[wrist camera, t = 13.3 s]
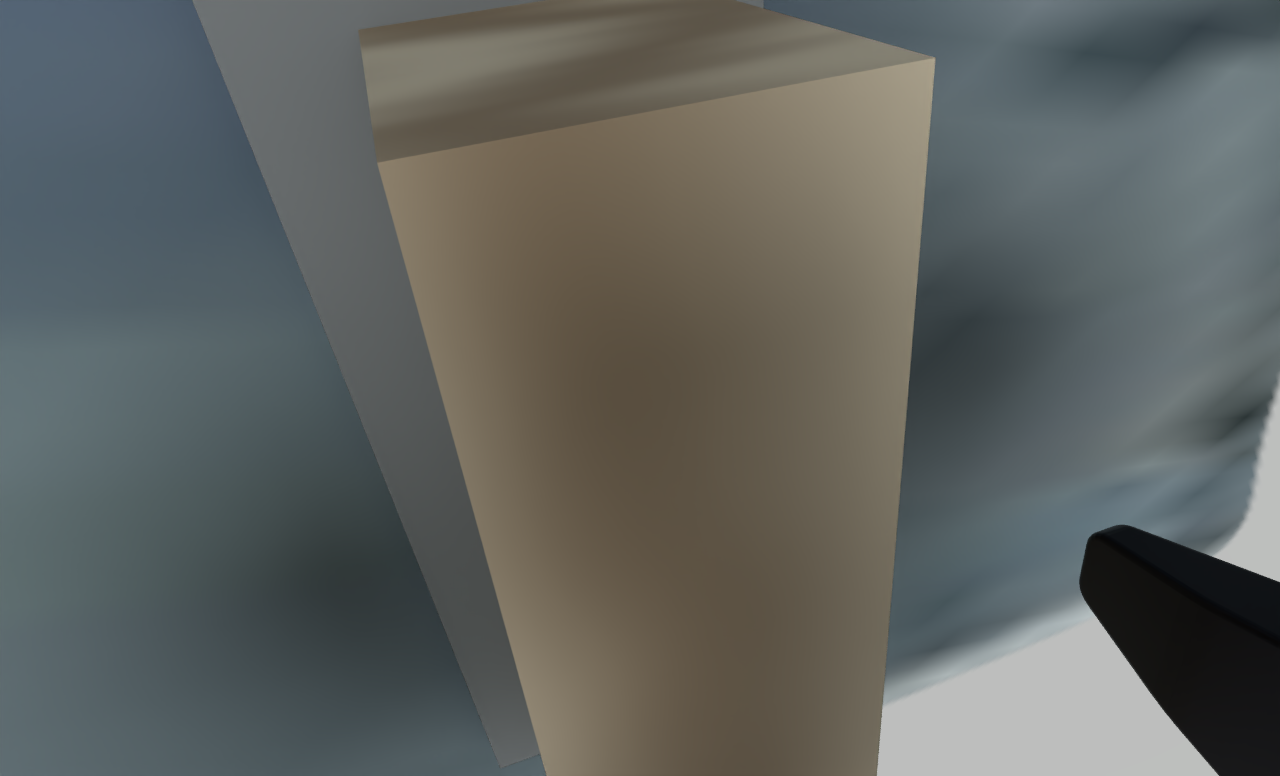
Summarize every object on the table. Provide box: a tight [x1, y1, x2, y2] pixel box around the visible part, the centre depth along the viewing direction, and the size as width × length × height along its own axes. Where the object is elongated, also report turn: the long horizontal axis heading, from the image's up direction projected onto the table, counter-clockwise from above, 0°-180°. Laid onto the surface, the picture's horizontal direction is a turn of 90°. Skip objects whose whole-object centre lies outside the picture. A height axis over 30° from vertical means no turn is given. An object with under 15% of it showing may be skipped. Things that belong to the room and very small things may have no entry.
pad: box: [192, 0, 764, 769], centre depth 14 cm, size 16×7×1 cm, turn 9°
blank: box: [358, 0, 935, 776], centre depth 12 cm, size 4×14×6 cm, turn 7°
